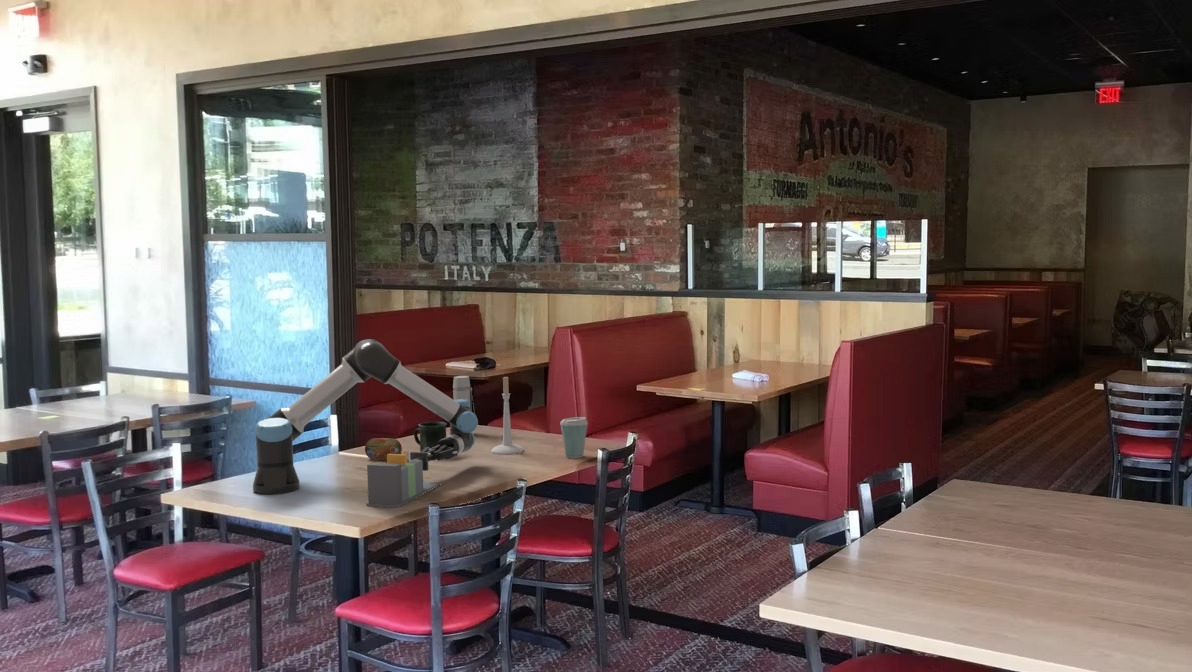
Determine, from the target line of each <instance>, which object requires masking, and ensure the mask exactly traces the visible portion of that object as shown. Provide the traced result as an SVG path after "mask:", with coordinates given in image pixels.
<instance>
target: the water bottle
mask: <svg viewBox="0 0 1192 672" xmlns="http://www.w3.org/2000/svg"><path fill="white" fill-rule="evenodd" d="M452 389H453V390H452V392H453V400H458V399H465V400H468V401H469V402H470V403H471V400H474V399H473V396H471V393H472V392H473V388H472V387H471V382H470V376H469V375H458V376H454V377H453V384H452ZM472 404H473V408H475V405H474V403H472ZM470 411H471V412H473V411H474V412H473V413H474V414H475V415H476V412H475V411H476V410H472V406H470Z"/></svg>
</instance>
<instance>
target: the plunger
mask: <svg viewBox="0 0 1192 672" xmlns="http://www.w3.org/2000/svg"><path fill="white" fill-rule="evenodd" d="M402 454H407V463H408V462H410V461H413V460H422V462H423V472H424V471H425V472H427V471H429V462H428V452H420V451H410V452H409V450H402Z"/></svg>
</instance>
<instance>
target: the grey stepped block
mask: <svg viewBox="0 0 1192 672" xmlns="http://www.w3.org/2000/svg"><path fill="white" fill-rule="evenodd" d="M366 470H367V471H366V472H367V496H368V497H367V499H368V502H366V507H376V506H378V508H379V507H381V508H395V509H396V508H397V509H399V508H400V507H402V506H404V505H406V504H408V503H410V502H412V501H414V500H415V499H414V498H416V497H418V496H419V497H421V496H423V495H424V494H423V493H425V492H427V491H428V490H430V489H432V488H434V487H436V486H438V485H440V484H442V485H443V483H442V481H425V480H424V471H423V462H422V460H413V461H410V462H408V463H407V464H406V465H401V464H391V463H387V462H386V463H385V462H384V463H383V462H371V463H368V464H366ZM440 486H441V485H440ZM438 487H439V486H438ZM436 488H437V487H436ZM427 493H428V492H427ZM422 494H423V495H422ZM425 494H426V493H425ZM420 495H421V496H420ZM419 497H418V498H419ZM413 499H414V500H413ZM416 499H417V498H416ZM411 500H412V501H411ZM409 501H410V502H409ZM407 502H408V503H407Z"/></svg>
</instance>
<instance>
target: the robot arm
mask: <svg viewBox="0 0 1192 672" xmlns="http://www.w3.org/2000/svg"><path fill="white" fill-rule="evenodd" d="M341 358H342V360H341V361H342V362H341V364H340V365H339V366H337V367H336V368H334V369H333V370H332V371H331V372H330V373H329V374H327V376H325V377H324V378H323V379H321V380H320V381H319V382H318V383H317V384H316V385H314V386H313V387H311V388H310V390H308V391H307V392H306V393H304V394H303V395H302V396H301V397H299V398H298V399H297V400H296V401H295V402H293V403H292V404H291V405H290V406H288V407H280V408H279V409H277V411H275V412H274V413H273V414H271V415H270V416H268V417H266V418H264V419H262V420H260V421H258V422H257V423H256V425H255V430H254V431H255V432H254V433H255V440H256V441H255V443H256V444H255V445H256V461H257V469H256V472H255V476H254V479H253V482H252V490H253V491H255V492H258V493H257V494H259V493H262V495H275V494H276V495H277V493H278V494H285V493H290V492H293V491H297V490H299V489H300V487H301V485H300V484H301V483H300V479H299V476H298V474H297V471H296V469H295V465H294V451H293V450H294V449H293V442H294V441H295V440H296V439H298V437H300V436H301V435H302V434H303V433H304V428H305V426H307V424H309V423H310V422H312V420H314V419H315V418H316V417H317V416H319V415H320V414H321V413H322V412H323V411H325V409H327V408H328V407H329V406H331V405H332V404H333V403H334V402H336V401H337V400H338V399H339V398H341V396H343V395H344V394H345V393H346V392H348V391H349V390H350V389H352V388H353V387H354V386H355V385H356V384H357V383H362V384H363V383H365V382H367V381H368V380H369V379H371V378H374V379H375V380H376V381H379V382H380V383H382V384H384V385H387V384H388V385H390V386H392V387H394V388H395V389H397V390H399V391H400V393H401V392H402V393H403V394H404V395H406V396H408V397H409V398H411V399H412V400H414V401H415V402H417V403H419V404H420V405H421V406H423V407H425V408H427V410H429V411H431V412H432V413H434V414H435V415H437V416H439V417H440V418H441V419H443V420H445V421H446V422H448V423H449V425H450V426H449V427H450V428H449V430H450V431H449V432H450V434H449V435H448V436H446V438H444V439H441V440H440V441H439V442H438V443H437V445H436V446H435V447H432V449H430V448H429V447H424V449H423V450H422V451H421V452H428V463H429V462H431V461H436V460H437V461H441V460H449V459H452V458H455V457H457V456H458V455H461V454H462V453H464V452H465V453H466V452H467V451H469V450H470V449H472V448H473V447H474V445H475V443H476V436H475V435H474V433H473V432H474V431H475V430H476V429H477V427H478V424H479V420H478V418H477V417H478V416H477V415H476V413H475V414H474V412H473V411H472V412H471V411H470V410H471V401H470V402H469V401H468V400H465V399H458V400H454V398H452V397H450V396H449V395H447V394H445V393H444V392H442V391H440V390H439V389H437V388H436V387H435V386H434V385H432V384H430V383H429V382H427V381H426V380H424V379H422V378H421V377H420V376H419V375H417V374H415V373H414V372H412V371H410V370H409V369H408V368H406V367H404V366H403V365H402V363H401V362H402V361H401V360H399V359H398V358H396V357H395V356H393V355H392V354H391V353H390V352H389V350H387V348H386V347H385V346H384V345H383V344H382V343H381V342H379V341H377V340H376V339H372V338H371V339H368V338H367V339H364V340H361V341H359V342H358V343H356V344H355V346H354V347H353V349H351V350H350V351H349V352H348V353H346V354H345V355H344V356H343V357H341ZM255 492H254V493H255Z"/></svg>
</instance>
